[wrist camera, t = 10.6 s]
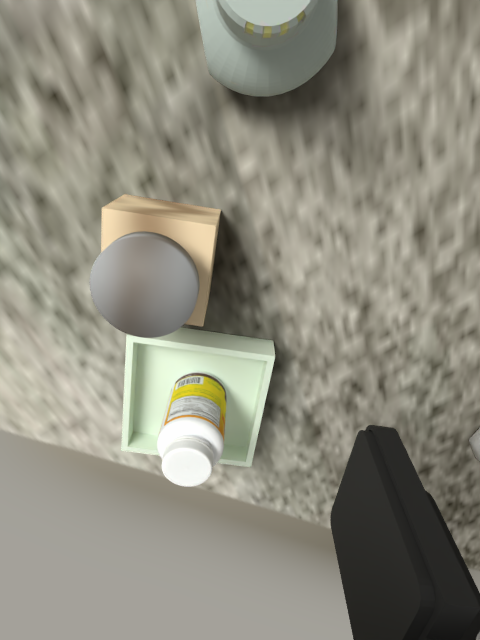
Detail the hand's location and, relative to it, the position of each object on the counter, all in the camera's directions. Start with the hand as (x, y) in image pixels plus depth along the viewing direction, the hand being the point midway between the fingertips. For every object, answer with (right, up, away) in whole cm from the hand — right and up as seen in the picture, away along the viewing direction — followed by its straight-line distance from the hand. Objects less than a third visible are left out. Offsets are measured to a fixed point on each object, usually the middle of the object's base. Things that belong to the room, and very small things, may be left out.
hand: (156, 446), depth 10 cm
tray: (-2, -4, +33) cm, 33 cm away
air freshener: (+3, +25, +20) cm, 32 cm away
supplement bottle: (-2, -4, +32) cm, 33 cm away
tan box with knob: (-4, +9, +27) cm, 29 cm away
